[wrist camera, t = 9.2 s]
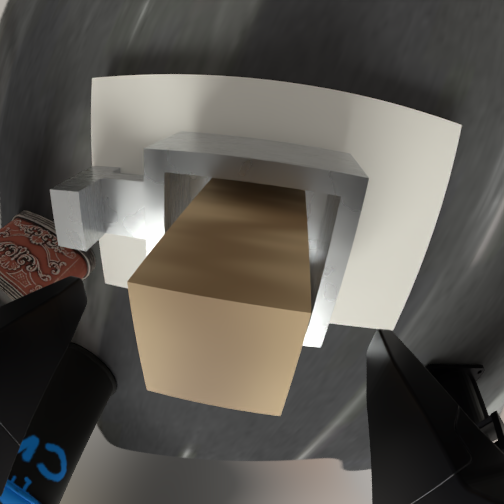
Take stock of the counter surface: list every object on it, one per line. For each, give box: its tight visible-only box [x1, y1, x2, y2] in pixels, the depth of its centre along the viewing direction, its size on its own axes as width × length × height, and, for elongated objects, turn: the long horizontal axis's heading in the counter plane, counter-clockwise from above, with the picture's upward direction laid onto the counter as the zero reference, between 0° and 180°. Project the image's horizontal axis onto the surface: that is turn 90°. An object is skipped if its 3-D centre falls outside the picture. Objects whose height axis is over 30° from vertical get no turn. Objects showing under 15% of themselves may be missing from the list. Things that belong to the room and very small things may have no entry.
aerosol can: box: [0, 343, 116, 504], centre depth 20 cm, size 8×8×20 cm
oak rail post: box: [127, 178, 311, 416], centre depth 11 cm, size 4×4×8 cm
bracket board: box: [91, 74, 462, 330], centre depth 17 cm, size 19×13×2 cm
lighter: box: [0, 211, 96, 307], centre depth 17 cm, size 8×3×10 cm, turn 64°
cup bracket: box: [50, 131, 369, 348], centre depth 14 cm, size 13×8×5 cm, turn 84°
